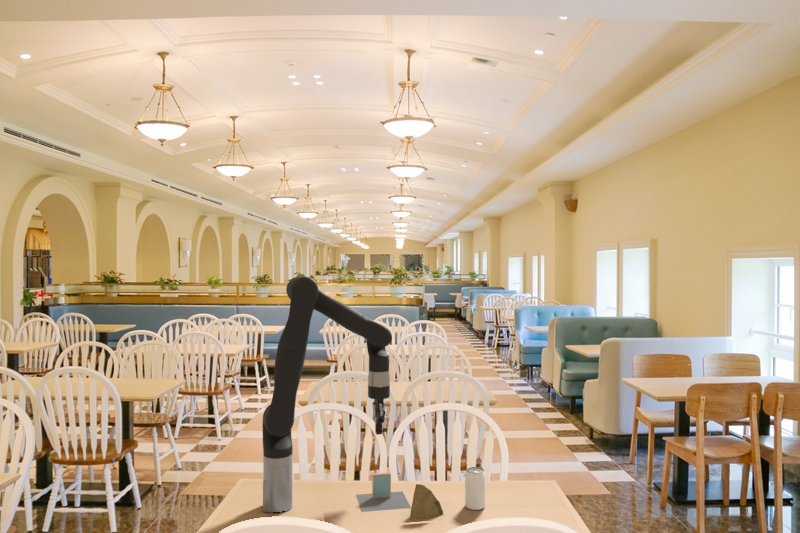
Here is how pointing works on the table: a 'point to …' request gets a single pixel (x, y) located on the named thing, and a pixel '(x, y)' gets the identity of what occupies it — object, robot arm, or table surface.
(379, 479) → the tile
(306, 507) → the table surface
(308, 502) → the table surface
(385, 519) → the table surface
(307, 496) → the table surface
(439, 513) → the rock
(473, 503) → the can
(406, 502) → the mat
